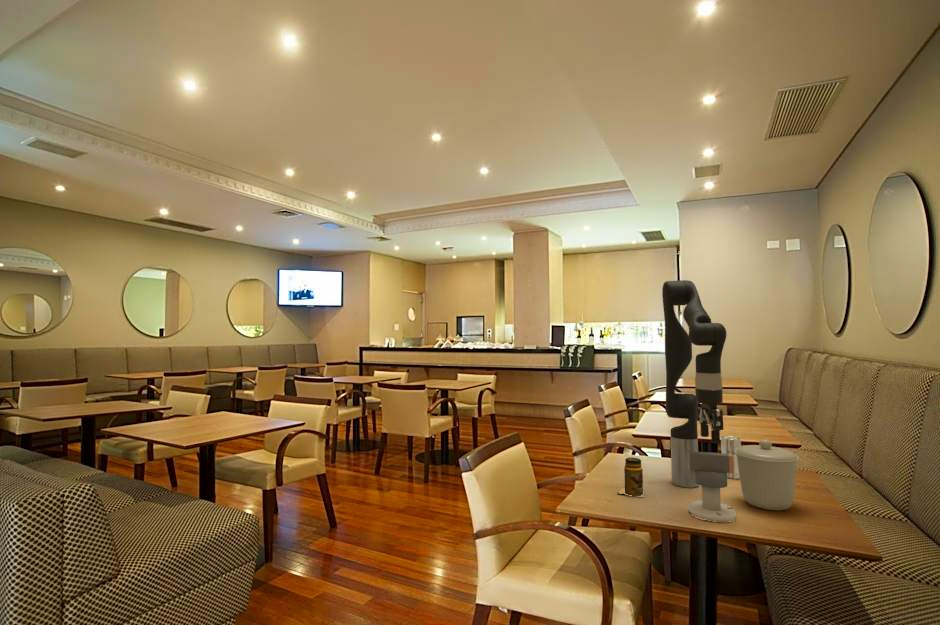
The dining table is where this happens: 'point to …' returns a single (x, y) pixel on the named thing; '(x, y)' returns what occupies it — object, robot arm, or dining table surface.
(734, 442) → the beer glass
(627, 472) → the condiment
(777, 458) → the canister
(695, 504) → the post base
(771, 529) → the dining table surface
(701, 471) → the twist cap
